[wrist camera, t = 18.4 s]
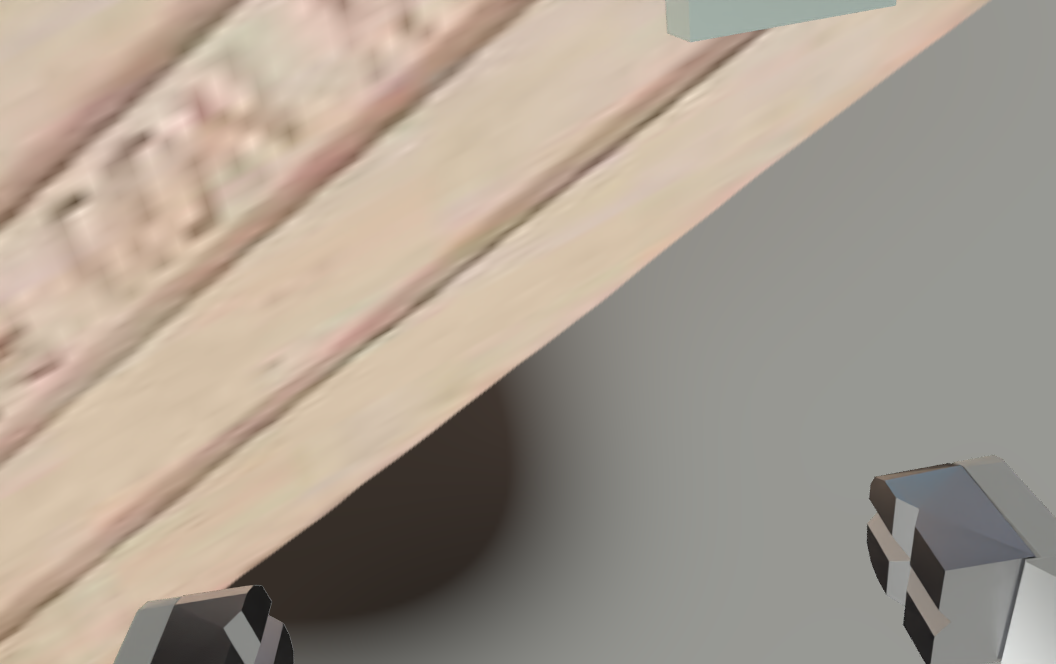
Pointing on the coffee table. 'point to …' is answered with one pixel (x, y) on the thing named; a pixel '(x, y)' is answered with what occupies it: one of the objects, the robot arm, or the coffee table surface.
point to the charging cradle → (753, 14)
